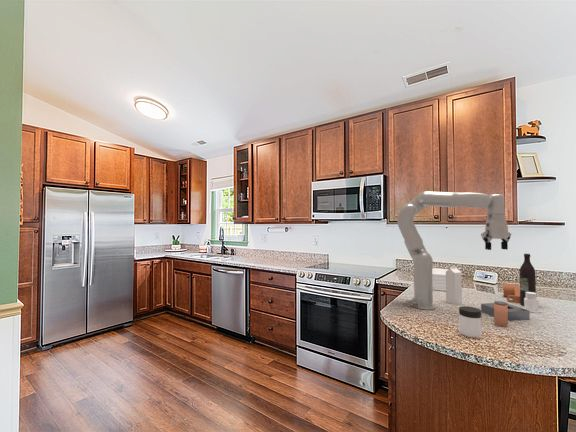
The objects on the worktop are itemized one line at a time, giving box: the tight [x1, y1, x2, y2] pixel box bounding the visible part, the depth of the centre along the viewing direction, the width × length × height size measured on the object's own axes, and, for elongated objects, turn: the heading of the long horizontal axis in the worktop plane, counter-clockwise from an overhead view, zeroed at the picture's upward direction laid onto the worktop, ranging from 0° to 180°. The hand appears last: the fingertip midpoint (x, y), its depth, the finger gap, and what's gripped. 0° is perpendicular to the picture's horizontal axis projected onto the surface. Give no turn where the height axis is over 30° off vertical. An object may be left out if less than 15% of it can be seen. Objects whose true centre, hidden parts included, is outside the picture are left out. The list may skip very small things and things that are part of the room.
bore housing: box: [480, 302, 531, 322], centre depth 145 cm, size 14×14×5 cm
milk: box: [445, 265, 463, 305], centre depth 170 cm, size 6×6×22 cm
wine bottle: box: [519, 253, 537, 306], centre depth 164 cm, size 7×7×30 cm
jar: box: [458, 305, 483, 339], centre depth 120 cm, size 9×8×12 cm
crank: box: [502, 283, 520, 304], centre depth 179 cm, size 20×8×8 cm, turn 143°
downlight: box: [523, 292, 541, 314], centre depth 153 cm, size 8×7×10 cm
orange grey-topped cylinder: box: [493, 300, 509, 328], centre depth 131 cm, size 5×5×11 cm
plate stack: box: [432, 267, 450, 292], centre depth 213 cm, size 28×28×12 cm
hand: (496, 249), depth 149 cm, fingers open, 9 cm apart
